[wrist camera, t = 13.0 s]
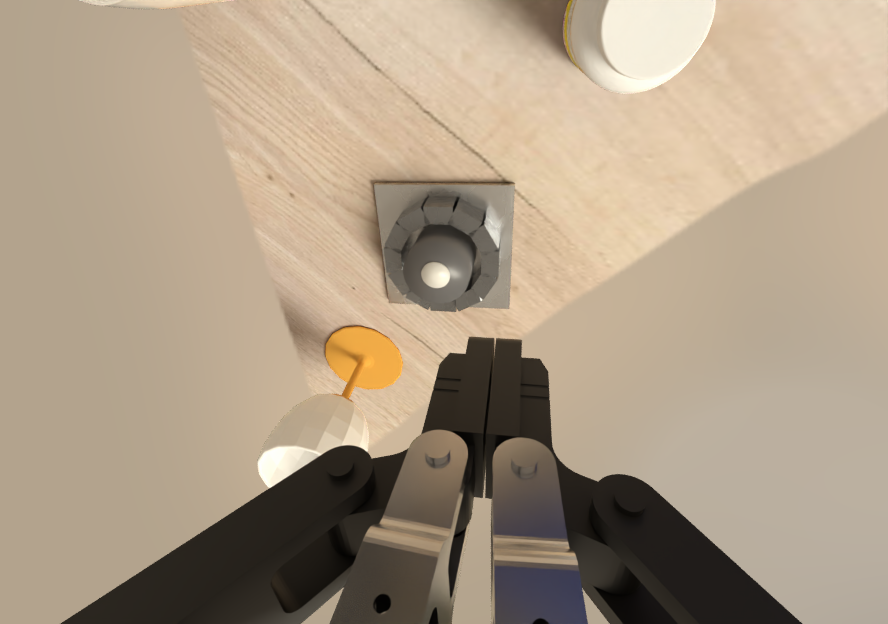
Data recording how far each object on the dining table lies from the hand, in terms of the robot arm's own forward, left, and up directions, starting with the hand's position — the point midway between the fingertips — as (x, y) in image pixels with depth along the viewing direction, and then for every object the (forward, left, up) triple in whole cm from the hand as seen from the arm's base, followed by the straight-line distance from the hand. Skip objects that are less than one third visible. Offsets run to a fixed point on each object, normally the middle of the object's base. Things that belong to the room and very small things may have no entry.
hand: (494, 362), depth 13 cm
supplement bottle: (-8, +6, -27) cm, 29 cm away
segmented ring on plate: (+9, -6, -27) cm, 29 cm away
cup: (+23, -16, -27) cm, 39 cm away
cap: (+9, -6, -26) cm, 28 cm away
